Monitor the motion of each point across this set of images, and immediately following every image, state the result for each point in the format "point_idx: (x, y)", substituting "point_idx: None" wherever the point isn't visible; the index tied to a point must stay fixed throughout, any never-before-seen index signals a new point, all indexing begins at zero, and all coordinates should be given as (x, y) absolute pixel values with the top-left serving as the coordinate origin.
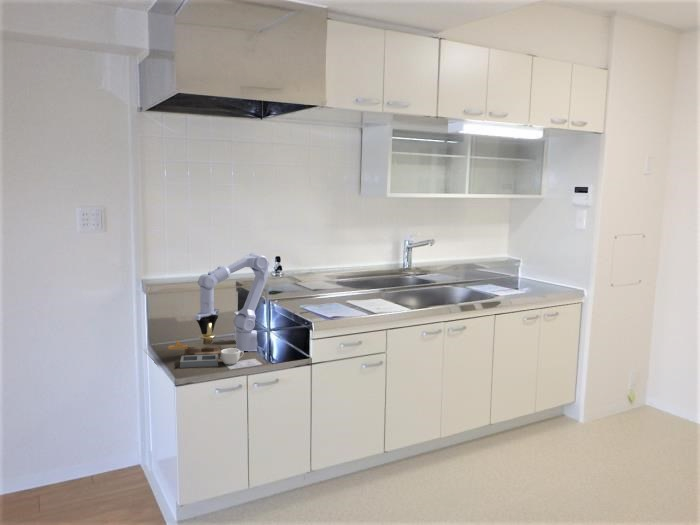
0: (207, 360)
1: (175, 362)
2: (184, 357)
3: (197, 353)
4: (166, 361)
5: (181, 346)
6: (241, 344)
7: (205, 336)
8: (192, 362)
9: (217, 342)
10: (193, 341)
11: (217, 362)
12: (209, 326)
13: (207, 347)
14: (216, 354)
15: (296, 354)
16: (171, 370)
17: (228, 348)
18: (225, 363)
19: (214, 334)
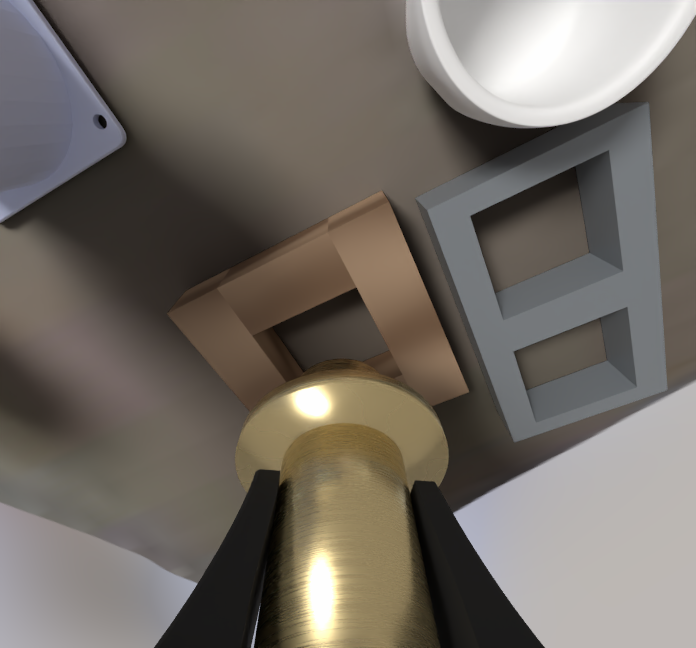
0: (644, 212)
1: None
2: (531, 414)
3: (444, 380)
4: (507, 473)
5: None
6: (5, 70)
7: (407, 461)
8: (655, 316)
9: (5, 412)
10: (101, 523)
11: (630, 106)
12: (402, 586)
13: (264, 387)
14: (438, 221)
15: None
16: (684, 382)
17: (449, 60)
18: (567, 34)
19: (271, 417)
